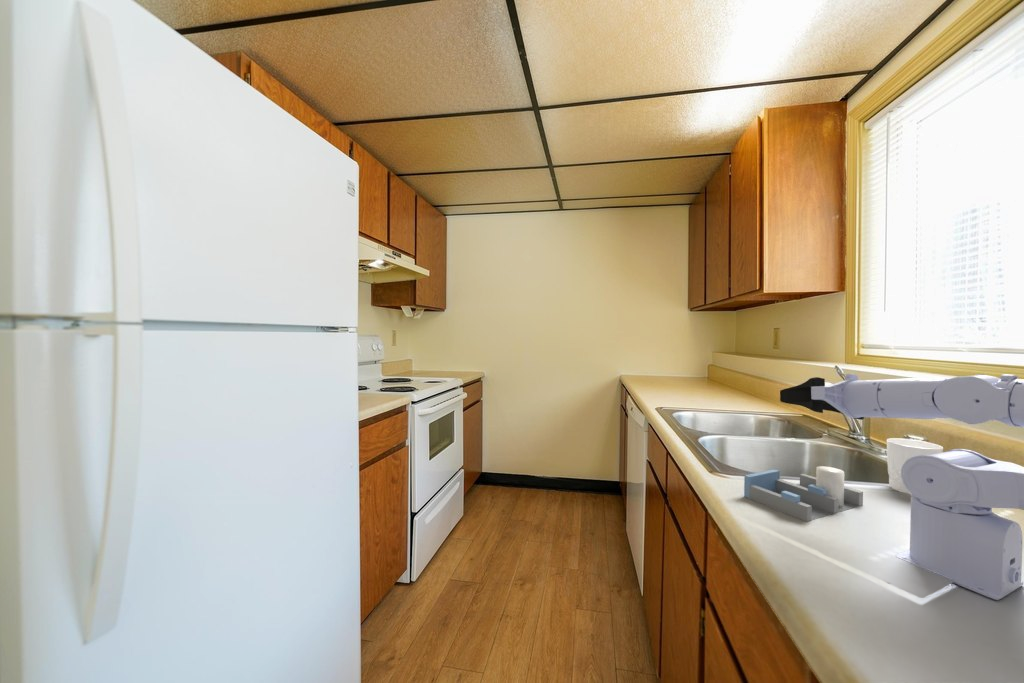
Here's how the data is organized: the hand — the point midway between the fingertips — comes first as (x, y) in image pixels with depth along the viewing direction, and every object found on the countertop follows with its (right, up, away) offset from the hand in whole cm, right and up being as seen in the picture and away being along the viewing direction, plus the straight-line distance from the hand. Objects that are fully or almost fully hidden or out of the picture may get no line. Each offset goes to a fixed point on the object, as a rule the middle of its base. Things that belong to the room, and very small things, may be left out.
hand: (796, 398), depth 72 cm
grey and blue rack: (+2, -20, +1) cm, 20 cm away
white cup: (+28, -20, +7) cm, 35 cm away
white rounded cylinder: (+7, -19, +1) cm, 20 cm away
